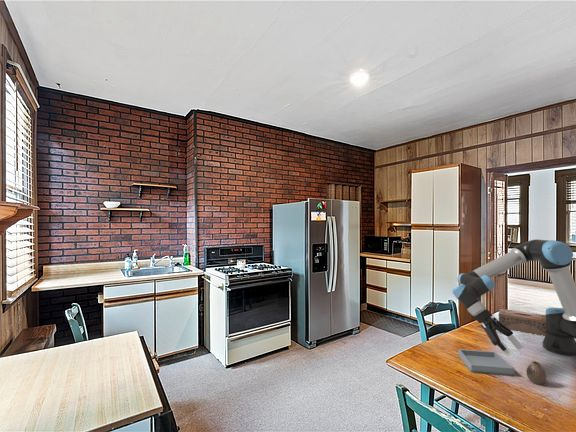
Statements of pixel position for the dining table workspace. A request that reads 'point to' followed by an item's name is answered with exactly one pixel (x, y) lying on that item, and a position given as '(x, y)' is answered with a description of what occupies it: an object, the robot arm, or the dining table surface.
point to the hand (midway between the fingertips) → (516, 352)
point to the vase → (536, 373)
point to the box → (485, 362)
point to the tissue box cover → (523, 321)
